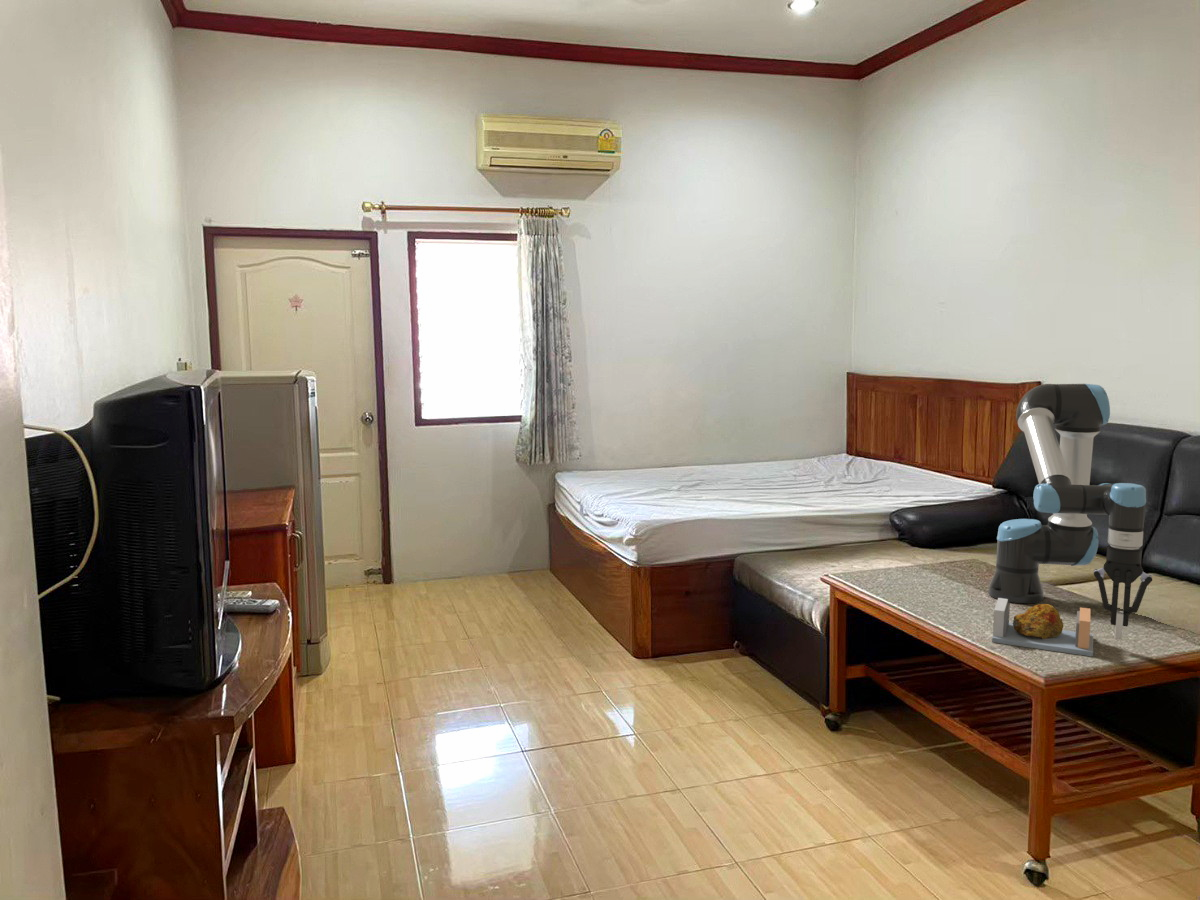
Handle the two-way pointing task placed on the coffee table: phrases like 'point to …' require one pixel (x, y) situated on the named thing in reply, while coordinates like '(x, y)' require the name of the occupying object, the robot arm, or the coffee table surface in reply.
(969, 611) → the coffee table surface
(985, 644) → the coffee table surface
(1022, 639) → the base
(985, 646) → the coffee table surface
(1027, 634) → the rock
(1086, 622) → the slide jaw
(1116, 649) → the coffee table surface
